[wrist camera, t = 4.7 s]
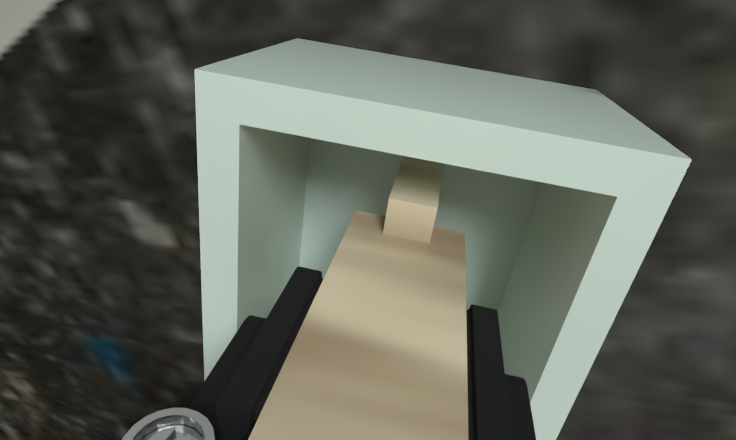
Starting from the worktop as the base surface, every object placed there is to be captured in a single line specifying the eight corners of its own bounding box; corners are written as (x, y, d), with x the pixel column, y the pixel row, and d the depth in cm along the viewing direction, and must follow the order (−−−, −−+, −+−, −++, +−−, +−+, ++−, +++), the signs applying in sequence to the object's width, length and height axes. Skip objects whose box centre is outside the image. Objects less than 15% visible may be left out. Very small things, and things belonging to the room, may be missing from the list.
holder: (510, 329, 20) (533, 485, 13) (281, 278, 21) (205, 403, 14) (596, 89, 15) (691, 159, 9) (297, 38, 16) (194, 69, 10)
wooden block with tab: (439, 273, 18) (393, 914, 6) (363, 257, 18) (157, 832, 6) (471, 150, 16) (508, 780, 3) (382, 134, 16) (107, 655, 4)
